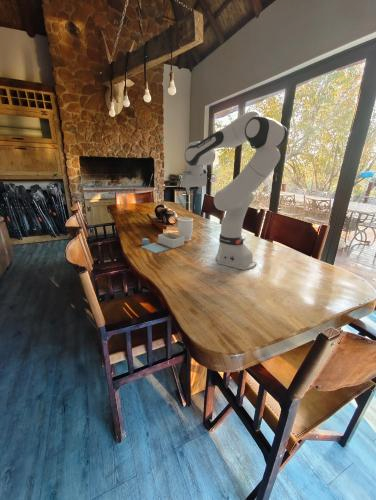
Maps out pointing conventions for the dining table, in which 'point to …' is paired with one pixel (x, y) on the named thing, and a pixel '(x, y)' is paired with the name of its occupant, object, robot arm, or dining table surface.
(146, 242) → the lid
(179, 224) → the jar
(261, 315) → the dining table surface
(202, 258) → the dining table surface
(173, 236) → the tub
